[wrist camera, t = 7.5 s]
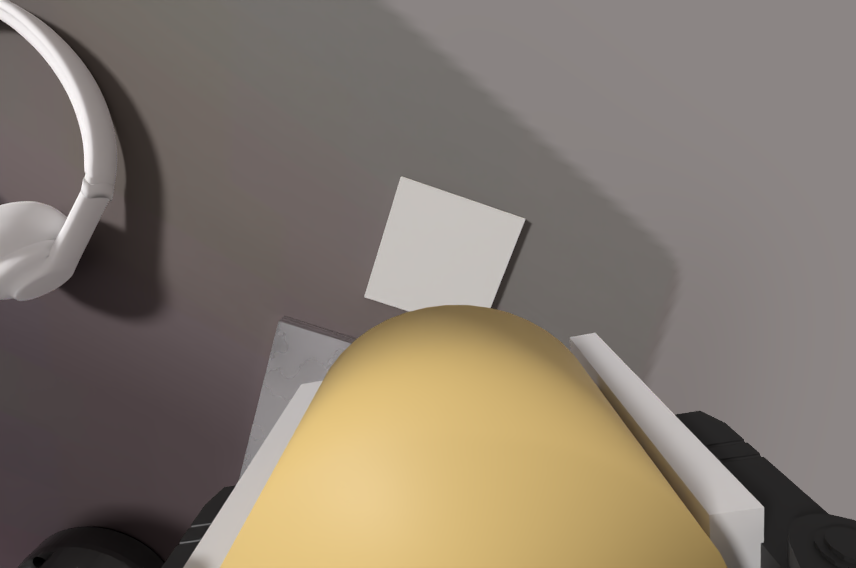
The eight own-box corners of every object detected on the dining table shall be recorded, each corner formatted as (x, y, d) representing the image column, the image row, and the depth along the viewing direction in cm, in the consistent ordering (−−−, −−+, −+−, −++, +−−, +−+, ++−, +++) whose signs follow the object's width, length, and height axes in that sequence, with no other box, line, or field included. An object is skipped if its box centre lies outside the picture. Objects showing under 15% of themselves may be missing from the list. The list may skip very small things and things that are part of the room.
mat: (479, 331, 35) (480, 334, 34) (365, 294, 34) (364, 297, 34) (523, 218, 32) (525, 219, 32) (401, 176, 32) (401, 176, 31)
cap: (350, 575, 12) (268, 950, 6) (273, 336, 10) (51, 558, 4) (615, 538, 11) (796, 915, 6) (588, 277, 9) (821, 444, 4)
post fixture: (420, 535, 40) (415, 649, 31) (241, 484, 39) (177, 586, 30) (485, 379, 36) (502, 455, 26) (284, 316, 35) (225, 371, 25)
